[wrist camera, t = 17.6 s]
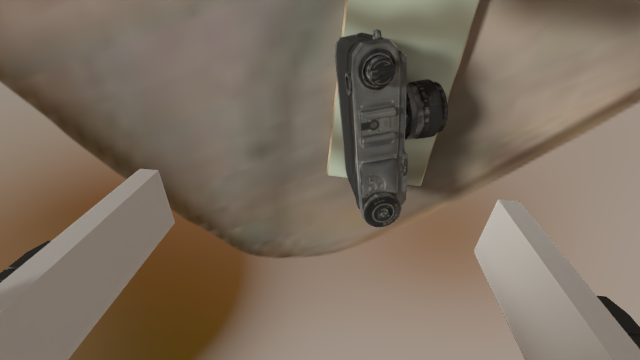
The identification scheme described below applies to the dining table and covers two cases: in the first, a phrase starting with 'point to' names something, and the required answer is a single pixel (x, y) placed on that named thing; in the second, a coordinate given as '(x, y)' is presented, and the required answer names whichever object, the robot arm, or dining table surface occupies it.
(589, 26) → the dining table surface
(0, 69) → the dining table surface
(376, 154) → the camera
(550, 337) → the robot arm
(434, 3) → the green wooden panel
